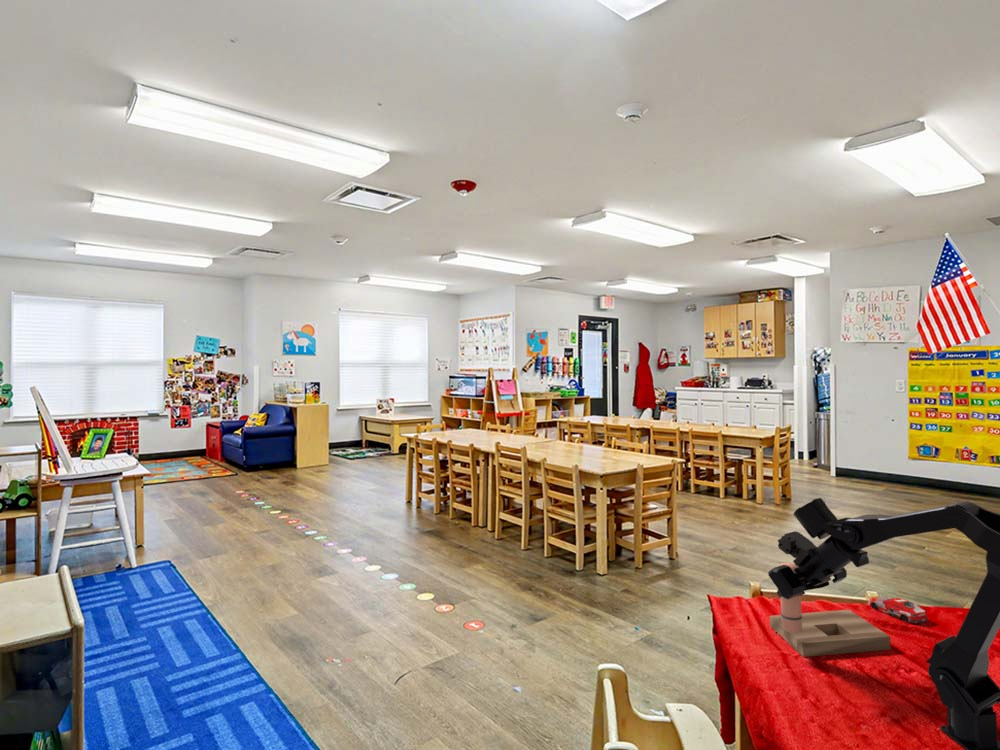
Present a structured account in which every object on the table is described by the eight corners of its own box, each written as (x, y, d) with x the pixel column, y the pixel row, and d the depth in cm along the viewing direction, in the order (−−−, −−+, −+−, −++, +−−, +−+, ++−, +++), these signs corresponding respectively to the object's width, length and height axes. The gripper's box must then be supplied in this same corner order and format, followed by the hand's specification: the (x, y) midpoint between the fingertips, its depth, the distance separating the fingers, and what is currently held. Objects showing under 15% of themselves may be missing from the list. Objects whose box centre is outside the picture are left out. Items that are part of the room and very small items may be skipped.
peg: (805, 632, 127) (802, 569, 126) (785, 633, 127) (782, 569, 127) (798, 624, 131) (795, 562, 130) (778, 624, 131) (775, 562, 131)
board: (890, 649, 129) (889, 636, 129) (802, 656, 128) (802, 643, 128) (849, 621, 143) (848, 609, 143) (770, 628, 142) (769, 615, 142)
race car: (865, 606, 152) (864, 591, 151) (880, 603, 153) (880, 588, 153) (915, 627, 139) (914, 611, 139) (931, 623, 141) (930, 607, 141)
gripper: (831, 516, 129) (788, 552, 139) (774, 531, 121) (733, 568, 131) (868, 561, 122) (821, 595, 132) (811, 580, 114) (765, 616, 124)
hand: (785, 592), depth 130 cm, fingers closed on peg, 4 cm apart
